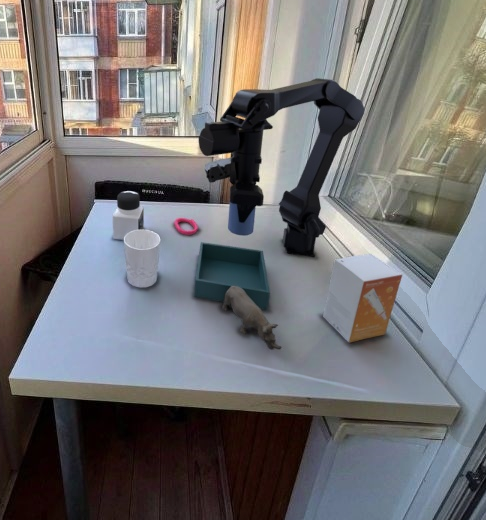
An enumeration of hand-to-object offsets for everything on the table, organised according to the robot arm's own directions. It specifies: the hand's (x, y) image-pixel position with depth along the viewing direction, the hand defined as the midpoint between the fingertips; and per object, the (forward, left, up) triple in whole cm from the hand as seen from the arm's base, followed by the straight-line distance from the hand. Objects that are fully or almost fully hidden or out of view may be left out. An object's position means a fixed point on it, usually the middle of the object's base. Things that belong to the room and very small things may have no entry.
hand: (240, 215), depth 75 cm
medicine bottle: (+28, -6, -13) cm, 32 cm away
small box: (-21, +14, -13) cm, 28 cm away
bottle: (0, 0, -3) cm, 3 cm away
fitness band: (+13, -13, -13) cm, 23 cm away
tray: (+1, +7, -13) cm, 14 cm away
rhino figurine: (-2, +20, -13) cm, 24 cm away
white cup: (+20, +11, -13) cm, 26 cm away
